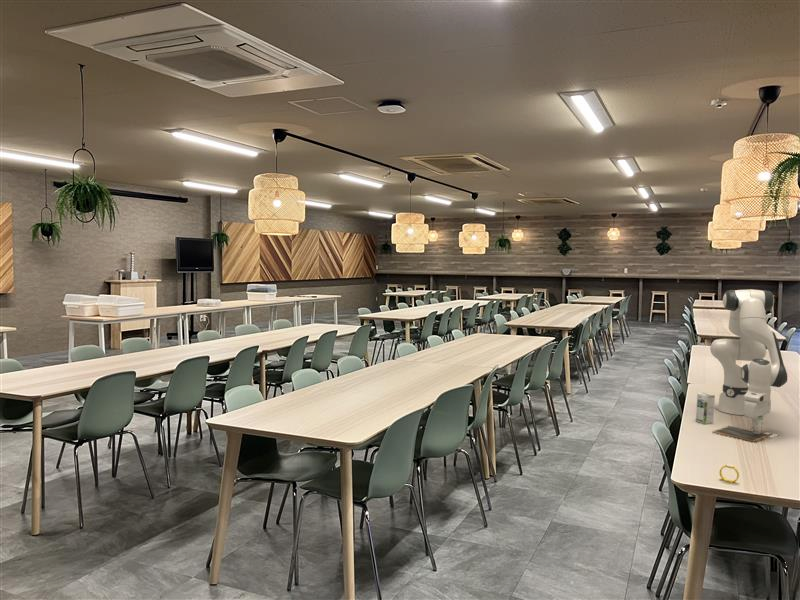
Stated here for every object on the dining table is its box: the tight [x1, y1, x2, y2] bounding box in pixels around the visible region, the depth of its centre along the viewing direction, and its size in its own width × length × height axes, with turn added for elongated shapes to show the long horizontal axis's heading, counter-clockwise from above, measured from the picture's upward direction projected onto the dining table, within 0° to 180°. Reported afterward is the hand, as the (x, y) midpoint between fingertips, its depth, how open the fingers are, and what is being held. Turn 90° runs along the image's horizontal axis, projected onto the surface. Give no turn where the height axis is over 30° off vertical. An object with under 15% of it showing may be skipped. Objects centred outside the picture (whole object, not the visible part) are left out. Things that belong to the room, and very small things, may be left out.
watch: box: [718, 463, 740, 483], centre depth 209 cm, size 6×3×6 cm, turn 50°
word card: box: [763, 431, 779, 439], centre depth 269 cm, size 8×5×1 cm, turn 128°
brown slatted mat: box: [712, 425, 770, 444], centre depth 269 cm, size 17×18×1 cm
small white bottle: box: [752, 416, 763, 434], centre depth 267 cm, size 3×3×8 cm
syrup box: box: [695, 391, 716, 425], centre depth 289 cm, size 6×6×14 cm
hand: (757, 424), depth 267 cm, fingers closed on small white bottle, 3 cm apart
